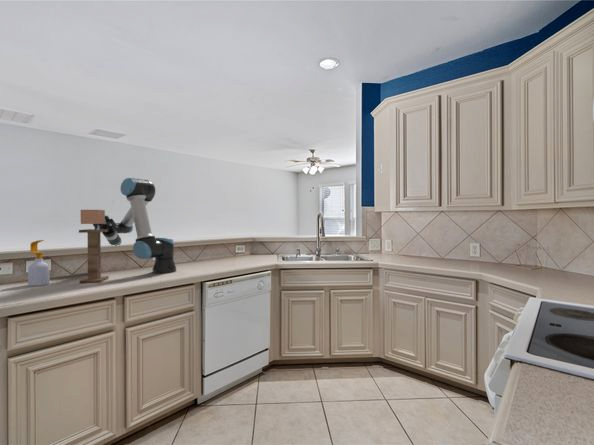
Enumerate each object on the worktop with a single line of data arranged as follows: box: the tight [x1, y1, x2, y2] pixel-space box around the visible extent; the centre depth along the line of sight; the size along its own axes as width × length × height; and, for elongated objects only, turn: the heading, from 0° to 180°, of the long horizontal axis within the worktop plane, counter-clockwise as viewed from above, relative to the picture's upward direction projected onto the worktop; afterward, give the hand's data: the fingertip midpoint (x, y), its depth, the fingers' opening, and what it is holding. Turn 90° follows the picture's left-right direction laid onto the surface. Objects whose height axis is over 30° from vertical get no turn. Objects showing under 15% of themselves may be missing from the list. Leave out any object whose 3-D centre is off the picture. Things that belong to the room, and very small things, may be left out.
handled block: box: [80, 209, 109, 225], centre depth 192 cm, size 24×9×8 cm, turn 13°
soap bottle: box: [27, 239, 50, 287], centre depth 176 cm, size 9×9×25 cm
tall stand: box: [78, 228, 109, 284], centre depth 186 cm, size 12×11×30 cm
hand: (97, 214), depth 192 cm, fingers closed on handled block, 4 cm apart
